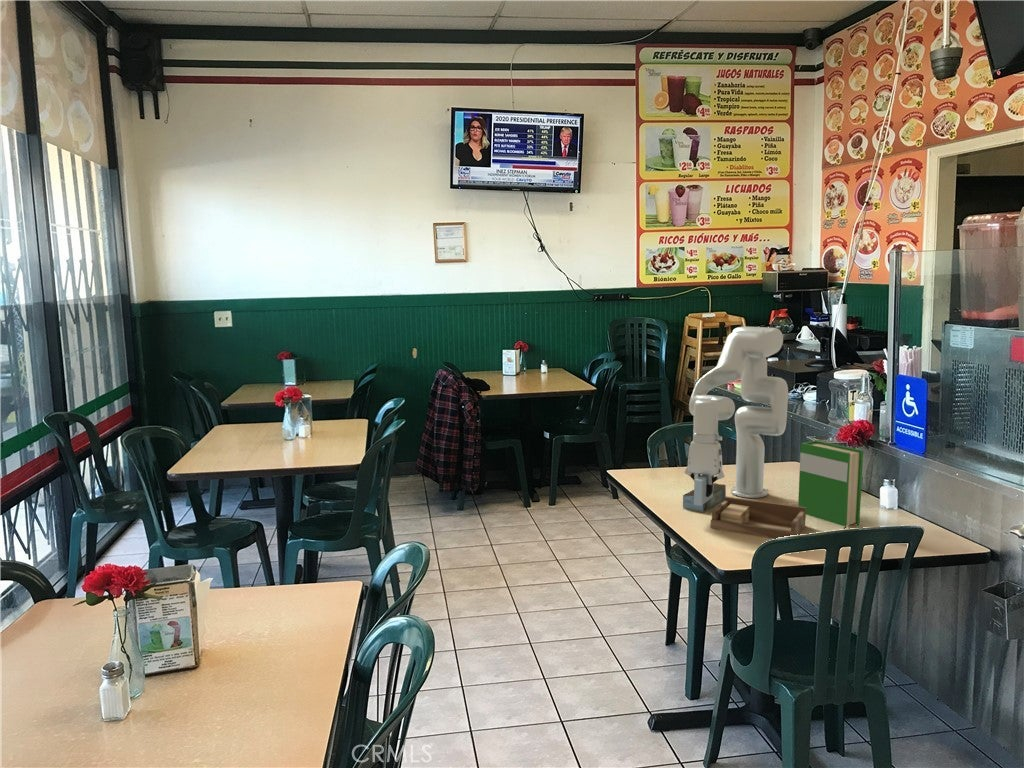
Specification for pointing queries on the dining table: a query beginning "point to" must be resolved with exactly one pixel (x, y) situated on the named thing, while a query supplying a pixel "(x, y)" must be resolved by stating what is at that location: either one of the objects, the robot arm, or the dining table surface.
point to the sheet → (701, 490)
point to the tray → (762, 518)
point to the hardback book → (831, 482)
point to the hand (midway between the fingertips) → (703, 494)
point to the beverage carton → (718, 497)
